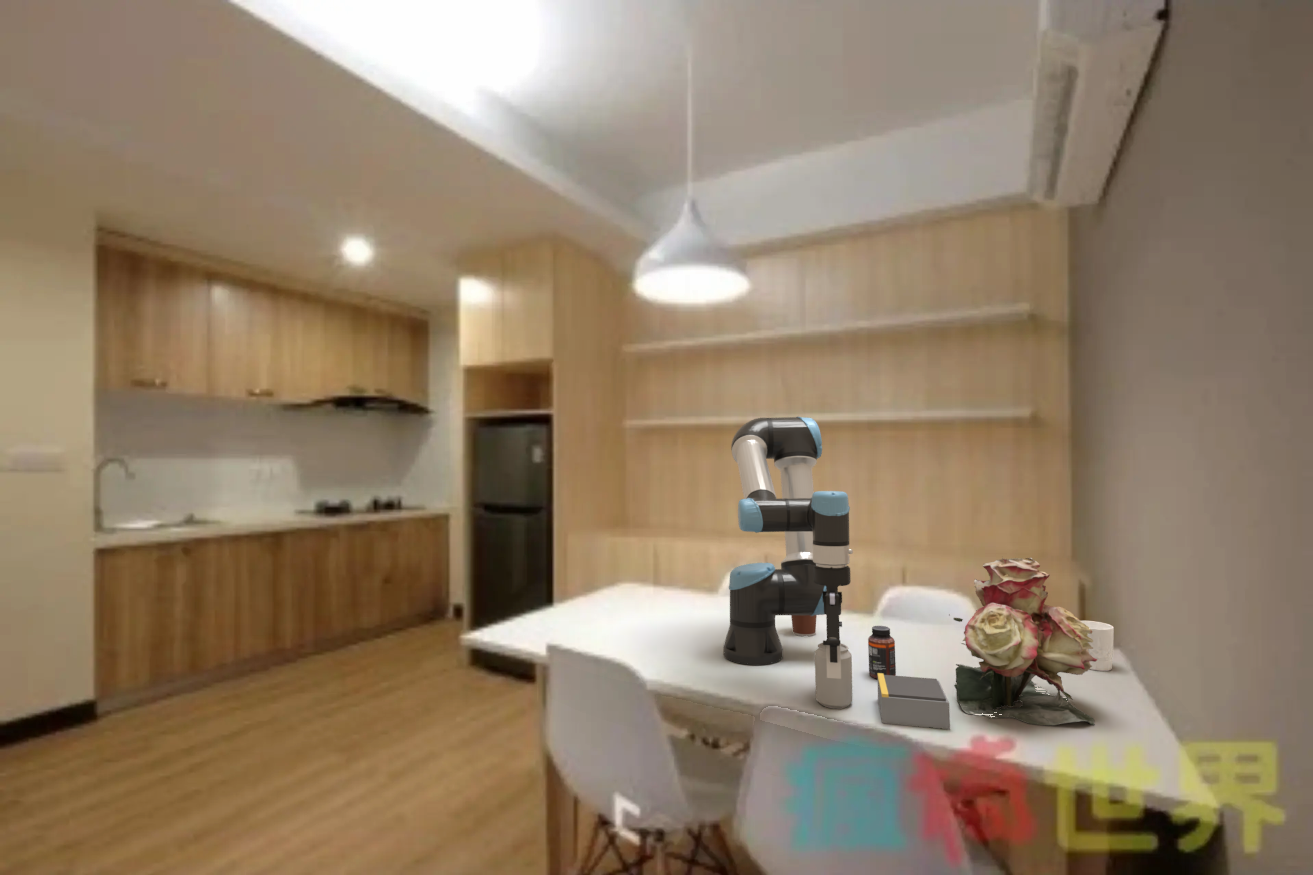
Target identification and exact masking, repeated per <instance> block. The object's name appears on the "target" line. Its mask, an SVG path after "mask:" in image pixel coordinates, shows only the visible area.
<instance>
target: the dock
mask: <svg viewBox="0 0 1313 875" xmlns="http://www.w3.org/2000/svg"><path fill="white" fill-rule="evenodd" d="M877 676H878V679H877V704H878V706H879V712H880V718H881V723H882V724H889V725H899V726H908V727H918V726H919V728H929V727H933V728H932V729H940V728H942V729H943V730H951V727H950V726H951V724H950V722H951V721H950V718H951V717H950V702H949V699H948V697H947V695H946V693H945V691H944V689H943V687H942V685H941V682H940V680H938V679H937V678H933V677H932V678H929V677H917V676H906V675H905V676H904V675H903V676H902V675H896V676H893V675H884V674H883V673H877ZM942 729H941V730H942Z"/></svg>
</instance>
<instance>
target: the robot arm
mask: <svg viewBox="0 0 1313 875" xmlns="http://www.w3.org/2000/svg"><path fill="white" fill-rule="evenodd" d="M730 447H731V448H730V449H731V455H732V458H733V460H734V462H736V463H737V467H738V474H739V478H740V484H741V489H742V490H741V491H742V494H743V498H742V499H739V500H738V503H737V520H738V527H739V529H740V530H741V531H742V532H752V533H756V534H757V533H777V532H778V533H782V532H783V533H784V541H785V543H784V544H785V557H784V558H783V560H781V562H780V568H776V567H775V565H774V564H773V563H770V562H754V563H746V564H742V565H738V566H736V567H734V568H733V569H732V570H730V573H729V583H728V584H729V585H728V590H729V627H728V630H727V634H726V637H725V639H724V640H725V641H724V643H723V657H724V658H725V659H726V660H728V661H731V662H733V663H737V664H742V665H749V666H751V665H752V666H762V665H771V664H774V663H778V662H780V661H781V660H782V659H783V658H784V657H783V655H784V653H783V645H782V643H781V639H780V636H779V634H778V630H777V627H776V616H791V615H810V616H814V615H817V616H824V615H826V618H825V619H826V640H822V643H823V645H826V657H827V678H836V679H841V652H840V643H841V639H840V634H841V633H840V628H842V627H843V621H840V616H841V615H842V603H843V593H842V592H843V591H838V590H839V589H838V588H839V587H846V586H849V585H850V584H851V567H850V566H849V564H850V563H851V559H850V557H851V556H850V555H852V554H853V553H854V552H853V551H854V550H853V549H852V548H850V510H851V509H850V508H851V507H850V505H849V495H848V493H847V492H846V491H842V490H840V491H838V490H818V491H814V478H813V468H814V467H815V466H816V465H817V463H818V460H817V459H820V457H822V453H823V440H822V435H821V430H820V427H819V424H818V423H817V422H816V420H815V419H814V418H811V417H802V416H793V417H789V416H787V417H757V418H754V419H751V420H749V421H748V422H746V423H745V424H743V425H742V426H740V428H738V430H737V431H736V432H735V434H734V436H733V437H732V441H731V445H730ZM768 459H769V460H770V459H771V460H773V463H774V467H775V468H776V469H777V470H779V472H780V486H781V498H778V497H777V494H776V490H775V487H774V483H773V480H772V475H771V473H770V468H769V465H768V464H769V463H768V461H767V460H768ZM841 644H842V643H841Z"/></svg>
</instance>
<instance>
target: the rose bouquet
mask: <svg viewBox="0 0 1313 875" xmlns="http://www.w3.org/2000/svg"><path fill="white" fill-rule="evenodd" d="M982 567H983V568H984V569H985V570H986V572H987V573H988V576H989V580H982V579H976V578H974V580H973V585H974V586H973V588H975V594H976V597H977V598H978V599H979V601H980V604H981V605H982V607H979V608H978V609H977V610H975V612H974V614H973V615H972V616H971V617H970V619H969V620H968V622H967V623H966V625H965V627H964V631H963V634H964V638H963V639H962V642H965V643H962V642H960V644H961V645H964V646H966V649H967V650H968V651H969V652H970V654H971V656H972V657H976V658H977V659H981V660H982V661H978V664H979V665H978V667H973V666H969V665H964V664H958V663H956V664H955V666H957V667H956V668H955V684H953V686H954V687H955V690H956V692H955V693H956V700H957V703H958V704H959V705H960V707H961V710H962V711H963V712H964V713H966V714H968V715H972V714H982V713H983V714H993V715H991V716H995V717H992V718H990V717H989V716H990V715H989V716H988V717H989V718H988V720H992V719H998V718H1014V719H1016V720H1019V721H1021V722H1024V723H1026V724H1029V725H1038V726H1039V725H1041V726H1057V725H1058V726H1059V725H1060V724H1061V725H1062V724H1068V723H1077V722H1086V723H1087V724H1088V725H1093V726H1095V719H1094V717H1092V715H1090V714H1087V713H1085V712H1083V711H1082V710H1080V709H1079V708H1077V707H1075V706H1074V705H1072V704H1071V703H1070V702H1069V700H1071V701H1074V699H1073V697H1072V695H1071V694H1069V693H1067V692H1066V691H1065V689H1064V687H1063V686H1064V685H1063V681H1062V676H1060V675H1059V673H1064V674H1071V675H1077V676H1078V675H1079V676H1080V675H1081V676H1082V675H1083V674H1084V673H1086V672H1089V670H1091V669H1090V668H1091V667H1092V665H1090V662H1089V661H1094V662H1096V661H1097V659H1095V658H1093V657H1092V656H1091V655H1090V654H1089V651H1088V649H1093V647H1091V646H1090V644H1089V643H1088V642H1093V640H1092V639H1091V638H1089V637H1088V636H1086V635H1088V633H1091V634H1092V630H1091V629H1090V628H1089V627H1088V626H1086V625H1085V624H1084V623H1082V622H1081V621H1082V620H1080V619H1079V618H1078V617H1076V616H1075V614H1074V613H1073V612H1071V611H1070V610H1069V611H1068V609H1067V608H1065V607H1062V606H1053V605H1048V604H1045V603H1046V600H1047V598H1048V596H1049V595H1048V593H1049V592H1048V591H1046V590H1047V589H1046V588H1047V586H1046V585H1044V584H1045V582H1046V581H1047V580H1048V579H1049V577H1050V574H1049V573H1047V572H1045V571H1042V570H1039V568H1040V567H1041V564H1040V563H1039V562H1038V561H1036V560H1035V559H1034V558H1032V557H1027V558H1026V557H1025V558H1023V557H1022V558H1021V557H1020V558H1019V557H1018V558H1016V557H1015V558H1003V557H1002V558H1001V559H996V560H995V561H991V562H986V563H983V565H982ZM948 616H949V617H950V616H951V615H950V613H949V614H948ZM953 621H955V622H959V623H961V622H963V621H964V618H961V617H953ZM1036 676H1037V677H1038V678H1040V679H1042V680H1044V681H1046V682H1047V684H1049V685H1050V686H1052V685H1053V687H1055V688H1056V691H1057V693H1056V695H1052V694H1051V695H1048V694H1042V693H1043V692H1036V691H1048V690H1047V689H1046V690H1036V689H1035V688H1037V687H1034V686H1038V683H1035V682H1034V681H1033V678H1034V677H1036ZM1038 688H1043V687H1042V686H1040V687H1039V686H1038ZM1061 693H1062V694H1063V695H1064V697H1066V698H1062V697H1063V696H1062V695H1061ZM1020 695H1021V696H1020ZM1066 699H1067V700H1066ZM1021 701H1022V702H1021ZM1067 701H1068V702H1067ZM1017 702H1021V705H1020V706H1017V707H1015V706H1016V704H1015V703H1017ZM1002 707H1003V708H1002ZM1004 707H1005V708H1004ZM1006 707H1007V708H1006ZM996 709H998V710H996ZM994 710H995V711H994ZM994 712H997V713H994ZM999 714H1002V715H999Z"/></svg>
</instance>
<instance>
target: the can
mask: <svg viewBox="0 0 1313 875" xmlns="http://www.w3.org/2000/svg"><path fill="white" fill-rule="evenodd" d="M817 647H818V648H816V650H815V651H814V673H815V674H814V681H815V683H814V684H815V685H814V686H815V688H814V689H815V699H816V701H817V702H818V703H819V704H820V705H821V706H822V707H826V708H829V709H835V710H836V709H838V710H839V709H840V710H841V709H844V708H848V706H849V705H851V704H852V703H853V662H852V660H853V659H852V658H853V656H852V655H853V654H852V653H851V652H850V651H849V646H848V645H847V644H845V643H840V652H841V679H836V678H827V657H826V645H823V642H820V643H818V644H817Z"/></svg>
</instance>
